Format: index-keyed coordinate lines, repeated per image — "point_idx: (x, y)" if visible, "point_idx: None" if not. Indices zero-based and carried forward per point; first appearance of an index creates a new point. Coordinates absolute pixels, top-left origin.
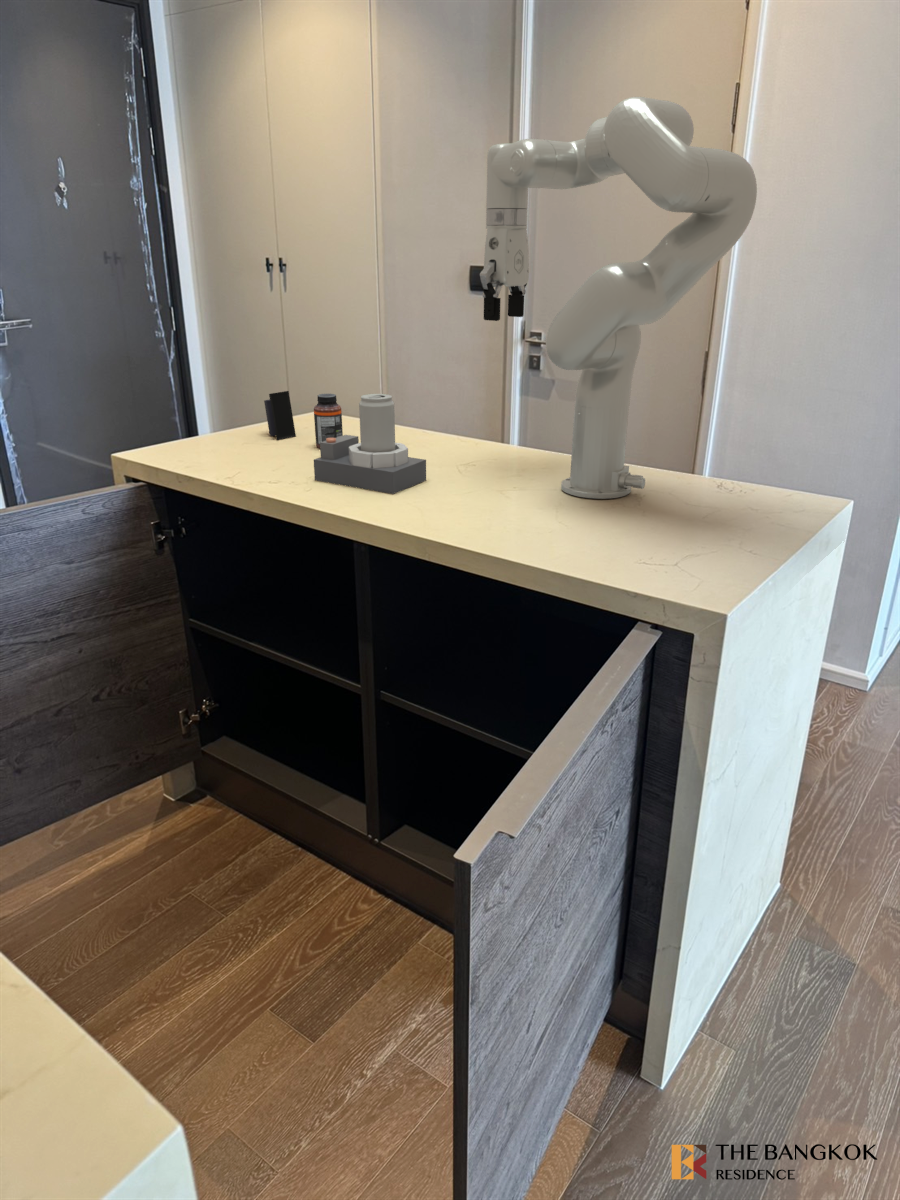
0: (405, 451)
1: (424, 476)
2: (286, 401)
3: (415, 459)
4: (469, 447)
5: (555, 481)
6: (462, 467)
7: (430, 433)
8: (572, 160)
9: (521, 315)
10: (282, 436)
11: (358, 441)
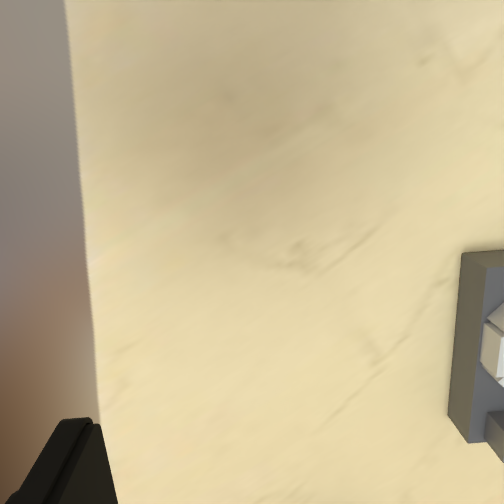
0: None
1: (473, 255)
2: None
3: (496, 286)
4: (162, 343)
5: (322, 3)
6: (327, 255)
7: None
8: None
9: (90, 425)
10: None
11: (500, 427)
